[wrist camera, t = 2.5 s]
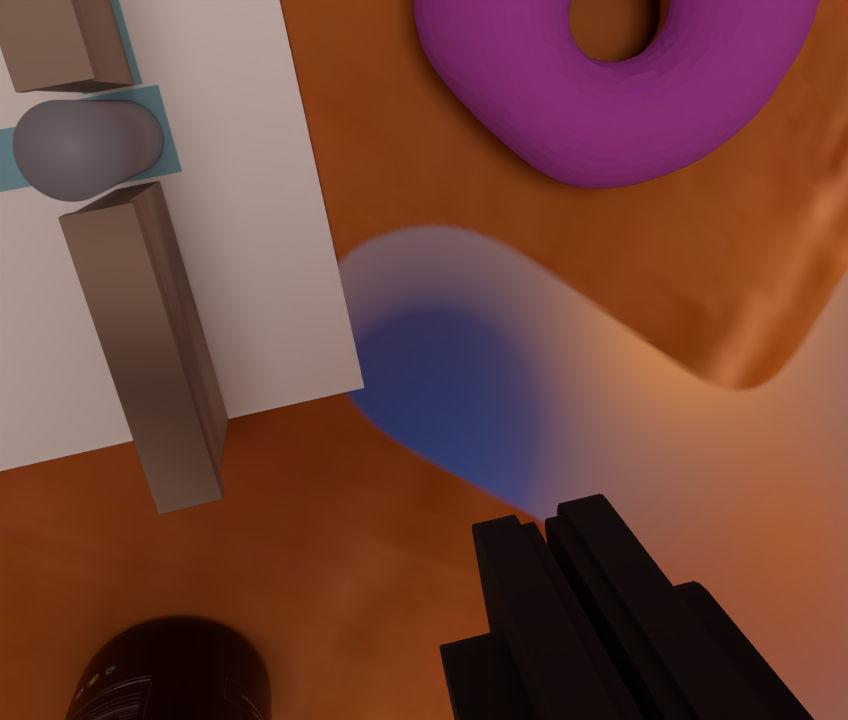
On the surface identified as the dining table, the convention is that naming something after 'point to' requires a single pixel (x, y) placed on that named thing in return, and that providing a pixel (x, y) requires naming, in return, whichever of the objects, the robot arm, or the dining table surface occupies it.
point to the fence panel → (152, 341)
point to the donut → (612, 81)
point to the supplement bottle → (173, 677)
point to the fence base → (185, 197)
